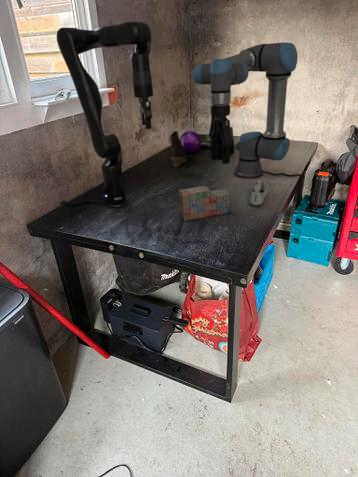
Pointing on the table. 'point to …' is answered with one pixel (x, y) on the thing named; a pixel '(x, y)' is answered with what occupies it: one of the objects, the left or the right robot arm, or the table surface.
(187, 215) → the stack of blocks
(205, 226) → the table surface
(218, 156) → the handbag
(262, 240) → the table surface
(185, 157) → the boot
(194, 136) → the decorative orb
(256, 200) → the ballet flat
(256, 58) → the right robot arm
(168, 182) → the table surface
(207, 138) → the pair of gloves
